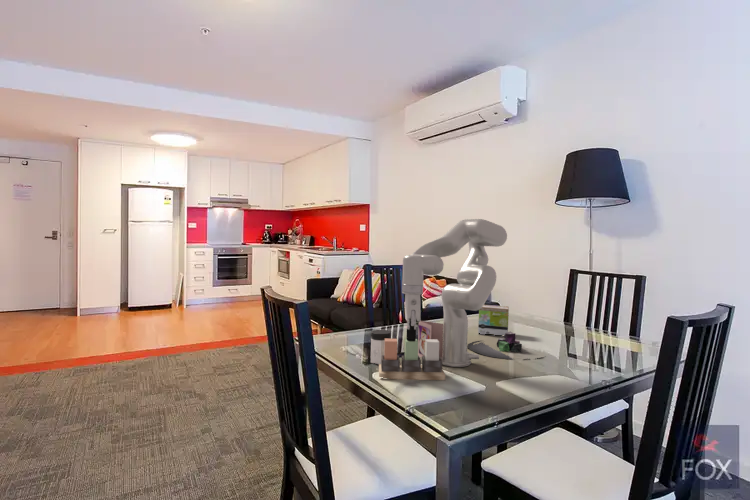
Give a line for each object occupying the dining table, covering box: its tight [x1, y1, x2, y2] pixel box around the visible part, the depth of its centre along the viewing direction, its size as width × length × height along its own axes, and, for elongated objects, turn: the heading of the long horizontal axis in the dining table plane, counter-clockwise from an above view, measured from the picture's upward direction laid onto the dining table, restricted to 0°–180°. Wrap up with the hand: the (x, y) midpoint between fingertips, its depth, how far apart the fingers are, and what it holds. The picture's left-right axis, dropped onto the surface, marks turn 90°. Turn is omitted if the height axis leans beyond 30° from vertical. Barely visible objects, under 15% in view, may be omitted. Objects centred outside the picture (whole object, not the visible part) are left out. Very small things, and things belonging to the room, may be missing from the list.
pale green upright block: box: [404, 338, 418, 360], centre depth 155 cm, size 4×4×7 cm
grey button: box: [425, 339, 439, 361], centre depth 155 cm, size 4×4×7 cm
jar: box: [370, 329, 392, 365], centre depth 171 cm, size 9×8×12 cm
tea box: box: [477, 304, 510, 336], centre depth 226 cm, size 15×10×15 cm
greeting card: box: [417, 320, 444, 358], centre depth 177 cm, size 11×7×15 cm, turn 20°
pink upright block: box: [384, 338, 398, 360], centre depth 155 cm, size 4×4×7 cm
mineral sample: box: [467, 331, 546, 361], centre depth 194 cm, size 35×35×9 cm
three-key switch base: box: [378, 355, 446, 381], centre depth 155 cm, size 23×11×6 cm, turn 90°
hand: (411, 340), depth 154 cm, fingers closed
